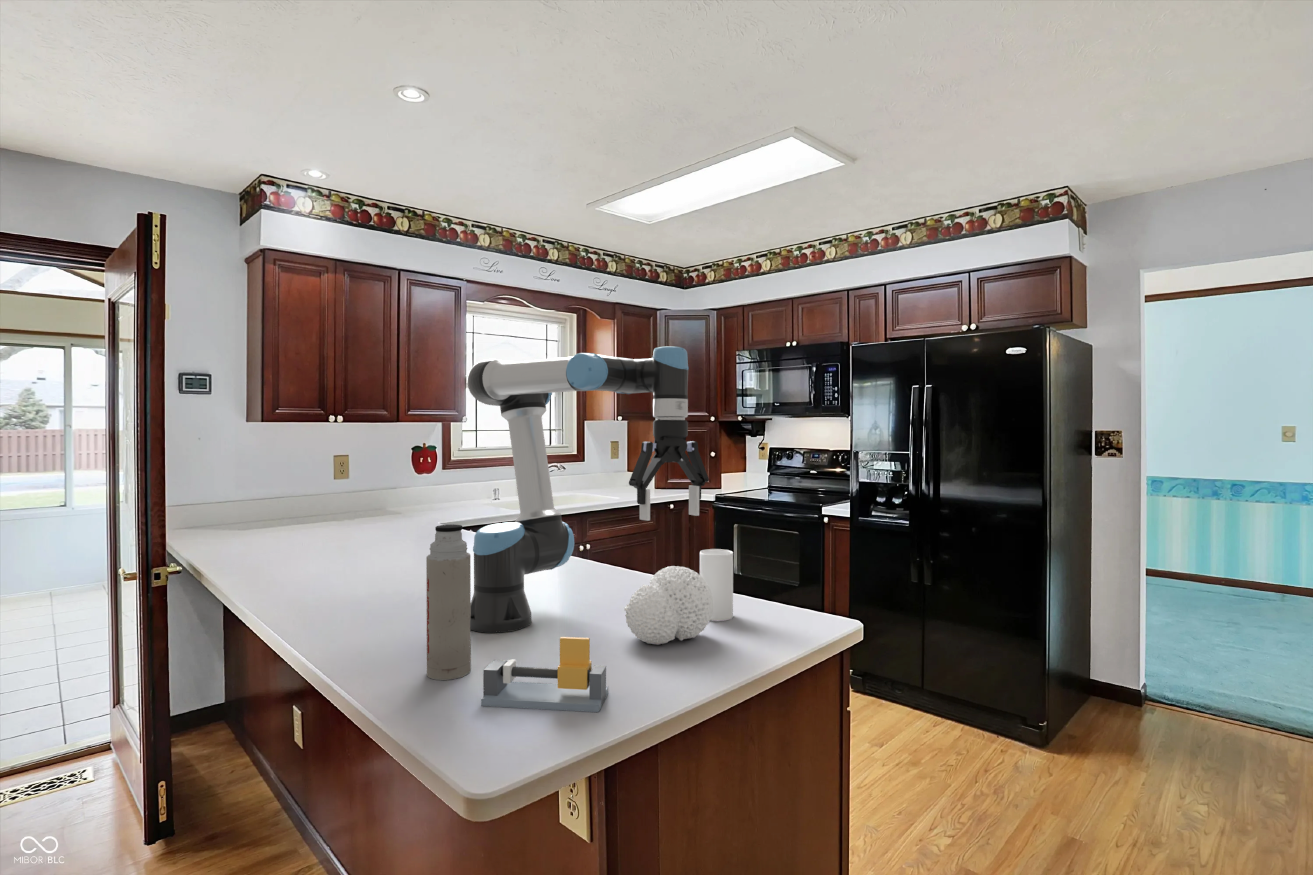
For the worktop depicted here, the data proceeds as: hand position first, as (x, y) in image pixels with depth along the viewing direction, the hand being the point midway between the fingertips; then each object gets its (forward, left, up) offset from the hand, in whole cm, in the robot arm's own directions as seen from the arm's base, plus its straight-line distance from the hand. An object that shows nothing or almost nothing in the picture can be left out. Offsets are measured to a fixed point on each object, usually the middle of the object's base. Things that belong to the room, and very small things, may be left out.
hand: (670, 517), depth 144 cm
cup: (+9, +22, -27) cm, 36 cm away
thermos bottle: (-40, -23, -27) cm, 53 cm away
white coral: (0, +2, -27) cm, 27 cm away
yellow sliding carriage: (-13, -33, -24) cm, 43 cm away
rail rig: (-18, -33, -27) cm, 46 cm away
